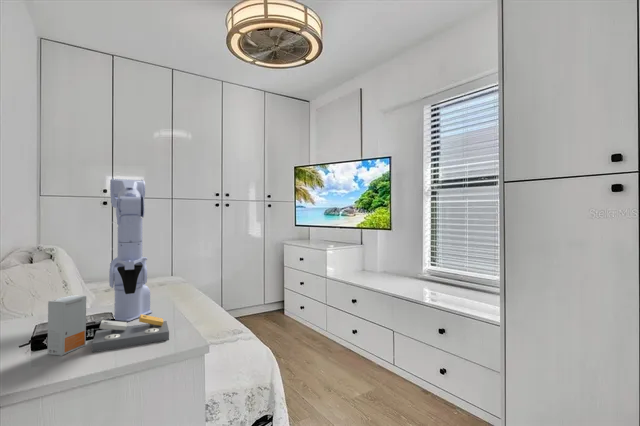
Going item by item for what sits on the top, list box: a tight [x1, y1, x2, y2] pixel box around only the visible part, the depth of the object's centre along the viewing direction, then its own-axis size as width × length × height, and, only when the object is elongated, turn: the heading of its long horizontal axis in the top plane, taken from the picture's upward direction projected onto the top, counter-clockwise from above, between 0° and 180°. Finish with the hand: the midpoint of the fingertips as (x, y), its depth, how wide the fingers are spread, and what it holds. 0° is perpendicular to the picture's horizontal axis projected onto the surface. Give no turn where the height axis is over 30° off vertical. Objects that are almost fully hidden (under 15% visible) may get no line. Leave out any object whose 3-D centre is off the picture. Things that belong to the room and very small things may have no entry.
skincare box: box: [47, 294, 87, 356], centre depth 76 cm, size 6×4×12 cm
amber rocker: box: [138, 314, 164, 326], centre depth 87 cm, size 6×3×1 cm, turn 119°
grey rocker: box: [99, 319, 128, 330], centre depth 83 cm, size 6×3×1 cm, turn 119°
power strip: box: [91, 320, 170, 353], centre depth 83 cm, size 16×9×3 cm, turn 119°
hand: (130, 293), depth 87 cm, fingers closed
